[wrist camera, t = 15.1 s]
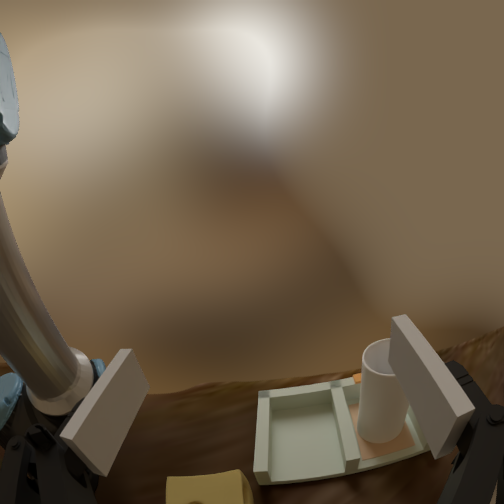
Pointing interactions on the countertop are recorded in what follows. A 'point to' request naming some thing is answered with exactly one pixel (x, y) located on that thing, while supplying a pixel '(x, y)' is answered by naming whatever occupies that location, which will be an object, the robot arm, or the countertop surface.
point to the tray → (322, 434)
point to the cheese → (209, 489)
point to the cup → (380, 396)
